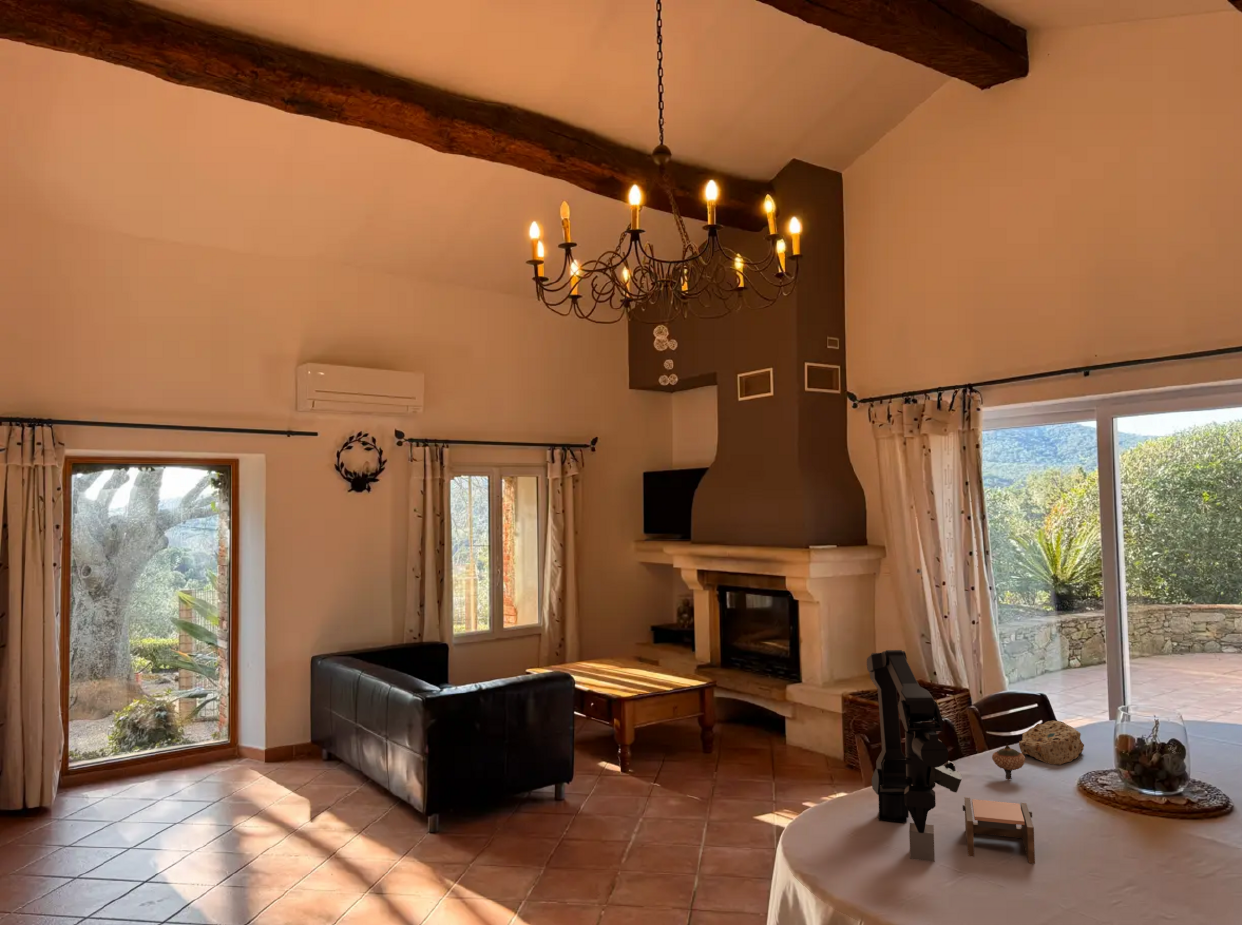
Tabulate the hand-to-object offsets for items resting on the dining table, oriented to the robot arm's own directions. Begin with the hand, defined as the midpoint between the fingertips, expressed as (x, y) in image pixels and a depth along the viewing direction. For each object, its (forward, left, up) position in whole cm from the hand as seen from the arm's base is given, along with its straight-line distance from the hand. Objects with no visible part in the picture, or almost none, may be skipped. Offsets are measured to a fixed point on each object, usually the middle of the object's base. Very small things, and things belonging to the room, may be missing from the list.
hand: (921, 824), depth 189 cm
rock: (+36, +86, -7) cm, 93 cm away
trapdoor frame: (+16, +10, -7) cm, 20 cm away
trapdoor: (+16, +10, -4) cm, 19 cm away
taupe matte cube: (0, 0, -7) cm, 7 cm away
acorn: (+22, +58, -7) cm, 62 cm away
